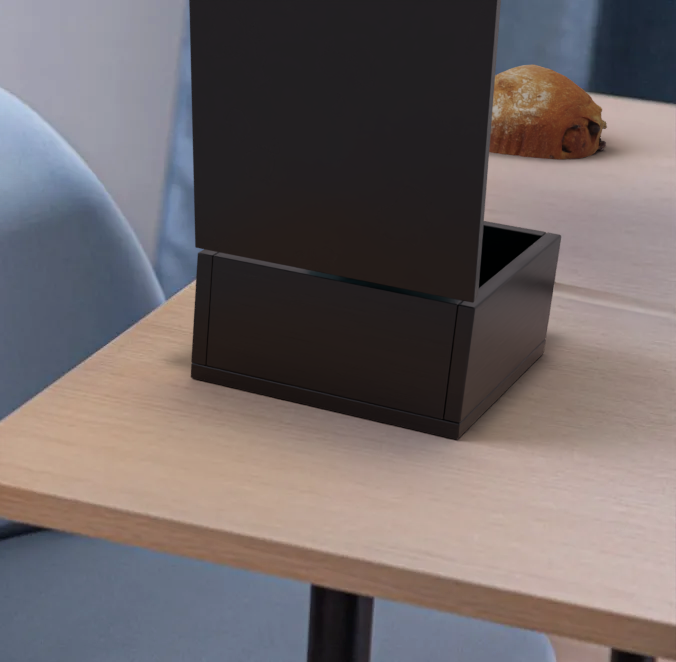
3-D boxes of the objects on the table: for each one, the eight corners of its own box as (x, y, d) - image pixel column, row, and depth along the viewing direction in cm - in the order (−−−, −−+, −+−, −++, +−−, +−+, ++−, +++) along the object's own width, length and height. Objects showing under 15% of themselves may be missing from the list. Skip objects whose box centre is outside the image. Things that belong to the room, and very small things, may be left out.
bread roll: (503, 179, 136) (473, 78, 134) (631, 141, 130) (601, 35, 128) (457, 207, 128) (424, 100, 127) (590, 168, 122) (558, 56, 121)
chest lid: (193, -62, 75) (187, -57, 74) (503, -25, 69) (498, -20, 69) (200, 242, 83) (194, 247, 82) (478, 297, 77) (473, 303, 77)
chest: (301, 303, 96) (311, 189, 94) (544, 353, 91) (562, 234, 88) (189, 378, 85) (197, 252, 83) (457, 440, 80) (474, 308, 77)
